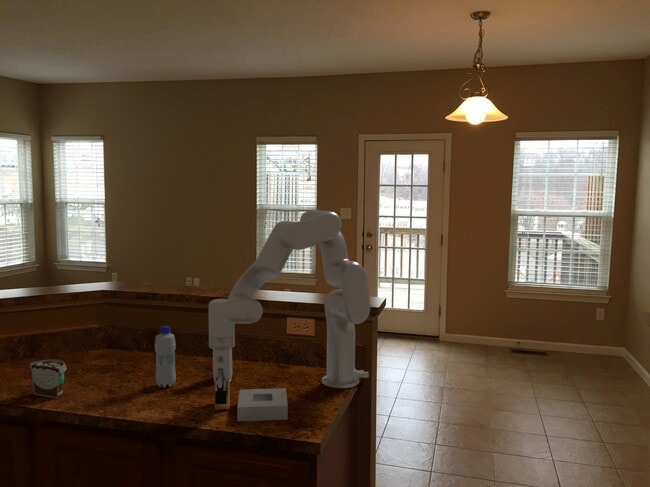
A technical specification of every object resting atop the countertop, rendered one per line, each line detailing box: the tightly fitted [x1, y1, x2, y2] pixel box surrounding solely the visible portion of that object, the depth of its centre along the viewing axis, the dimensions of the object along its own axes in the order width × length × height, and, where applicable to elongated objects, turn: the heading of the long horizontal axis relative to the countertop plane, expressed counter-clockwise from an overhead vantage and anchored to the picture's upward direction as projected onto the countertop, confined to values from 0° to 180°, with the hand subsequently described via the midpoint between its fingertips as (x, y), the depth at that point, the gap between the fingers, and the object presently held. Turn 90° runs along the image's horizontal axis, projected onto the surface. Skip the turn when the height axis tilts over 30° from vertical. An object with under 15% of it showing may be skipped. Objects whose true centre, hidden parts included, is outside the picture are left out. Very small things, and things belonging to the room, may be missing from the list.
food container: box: [29, 359, 67, 399], centre depth 172 cm, size 12×6×10 cm, turn 71°
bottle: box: [154, 325, 177, 389], centre depth 179 cm, size 7×7×20 cm
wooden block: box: [214, 379, 231, 411], centre depth 161 cm, size 4×4×9 cm
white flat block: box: [236, 387, 289, 422], centre depth 159 cm, size 14×14×4 cm
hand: (222, 397), depth 162 cm, fingers open, 9 cm apart
